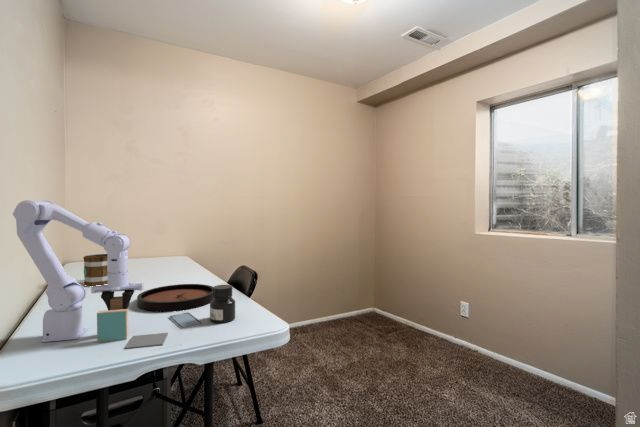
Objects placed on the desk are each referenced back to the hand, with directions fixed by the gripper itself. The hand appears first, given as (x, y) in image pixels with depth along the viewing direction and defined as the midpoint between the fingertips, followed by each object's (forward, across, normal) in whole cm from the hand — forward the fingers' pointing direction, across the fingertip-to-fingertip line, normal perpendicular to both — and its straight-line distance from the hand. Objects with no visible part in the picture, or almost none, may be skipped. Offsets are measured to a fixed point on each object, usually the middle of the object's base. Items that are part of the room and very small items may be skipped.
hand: (118, 313), depth 107 cm
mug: (+7, -32, +82) cm, 88 cm away
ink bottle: (+7, +32, +4) cm, 33 cm away
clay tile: (+6, 0, -6) cm, 9 cm away
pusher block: (+2, 0, 0) cm, 2 cm away
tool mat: (+6, +10, -10) cm, 16 cm away
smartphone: (+7, +20, +6) cm, 22 cm away
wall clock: (+7, +14, +34) cm, 38 cm away
